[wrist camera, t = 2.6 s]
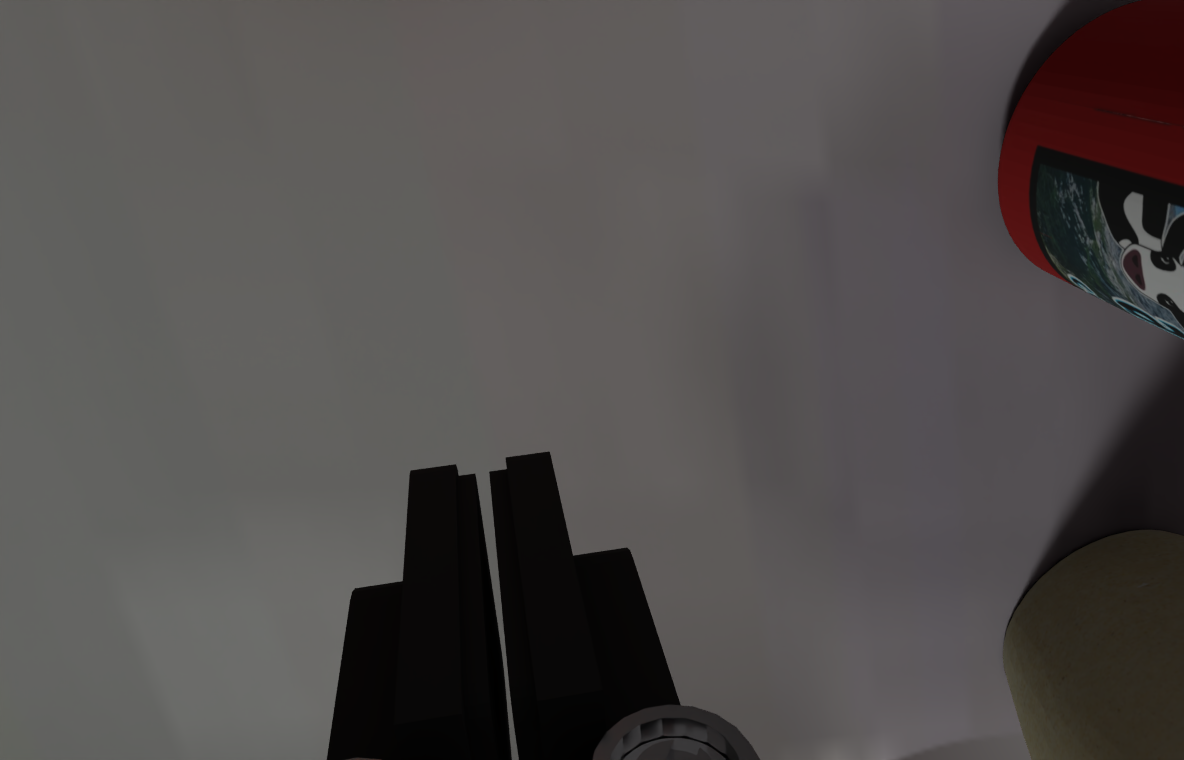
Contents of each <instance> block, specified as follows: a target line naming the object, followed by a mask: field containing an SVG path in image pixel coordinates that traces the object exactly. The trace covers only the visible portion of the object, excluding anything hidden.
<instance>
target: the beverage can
mask: <svg viewBox="0 0 1184 760" xmlns="http://www.w3.org/2000/svg"><path fill="white" fill-rule="evenodd" d="M998 194H999V202H1000V208H1001V212H1002V216H1003V219H1004V222H1005V225H1006V227H1007V230H1008V232H1009V234H1010V236H1011V237H1012V239H1013V241H1014V243H1015V244H1016V245H1017V247H1018V248H1019V249H1020V251H1021V252H1022V253H1023V254H1024V255H1025V256H1026V257H1027V258H1028V259H1029V260H1030V261H1031V262H1032V263H1033V264H1035V265H1036V266H1038V267H1039V268H1041V269H1042V270H1044V271H1046V272H1048V273H1050V274H1052V275H1054V276H1056V277H1058V278H1060V279H1062V280H1064V281H1066V282H1068V283H1070V284H1072V285H1074V286H1076V287H1078V288H1080V289H1082V290H1084V291H1086V292H1088V293H1090V294H1092V295H1094V296H1096V297H1098V298H1100V299H1102V300H1104V301H1106V302H1108V303H1110V304H1112V305H1114V306H1116V307H1118V308H1120V309H1122V310H1124V311H1126V312H1128V313H1130V314H1132V315H1134V316H1136V317H1138V318H1140V319H1142V320H1144V321H1146V322H1148V323H1150V324H1152V325H1154V326H1156V327H1159V328H1161V329H1163V330H1165V331H1167V332H1169V333H1171V334H1173V335H1175V336H1177V337H1179V338H1181V339H1184V0H1141V1H1137V2H1133V3H1130V4H1127V5H1124V6H1121V7H1119V8H1116V9H1114V10H1111V11H1109V12H1107V13H1105V14H1103V15H1101V16H1099V17H1098V18H1096V19H1094V20H1093V21H1091V22H1089V23H1088V24H1086V25H1085V26H1083V27H1082V28H1081V29H1079V30H1078V31H1077V32H1075V33H1074V34H1073V35H1072V36H1070V37H1069V38H1068V39H1067V40H1066V41H1065V42H1064V43H1062V44H1061V45H1060V46H1059V47H1058V48H1057V49H1056V50H1055V51H1054V52H1053V53H1052V55H1051V56H1050V57H1049V58H1048V59H1047V60H1046V61H1045V63H1044V64H1043V65H1042V66H1041V67H1040V69H1039V70H1038V71H1037V73H1036V74H1035V76H1034V77H1033V78H1032V80H1031V81H1030V83H1029V84H1028V86H1027V88H1026V89H1025V91H1024V93H1023V94H1022V96H1021V98H1020V100H1019V102H1018V104H1017V106H1016V108H1015V110H1014V112H1013V115H1012V117H1011V119H1010V122H1009V125H1008V128H1007V131H1006V134H1005V137H1004V141H1003V144H1002V149H1001V154H1000V161H999V169H998Z"/></svg>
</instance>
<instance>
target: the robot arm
mask: <svg viewBox="0 0 1184 760" xmlns="http://www.w3.org/2000/svg"><path fill="white" fill-rule="evenodd" d="M506 465H507V469H505V470H498V471H491V472H489V473H490V484H491V495H492V506H493V517H494V527H495V538H496V549H497V559H498V570H499V581H500V592H501V602H502V613H503V624H504V634H505V645H506V656H507V667H508V677H509V687H510V696H511V705H512V713H513V721H514V728H515V735H516V742H517V749H518V756H519V760H760V758H759V757H758V755H757V753H756V752H755V750H754V748H753V747H752V745H751V744H750V743H749V741H748V740H747V739H746V738H745V737H744V736H743V734H742V733H741V732H740V731H739V730H738V728H737V727H735V726H734V725H732V724H731V723H729V722H728V721H726V720H725V719H723V718H722V717H720V716H719V715H717V714H715V713H712V712H709V711H706V710H703V709H699V708H696V707H693V706H681V705H680V702H679V699H678V696H677V693H676V689H675V686H674V683H673V680H672V677H671V674H670V671H669V668H668V665H667V662H666V659H665V656H664V652H663V649H662V646H661V643H660V640H659V637H658V634H657V631H656V628H655V625H654V622H653V618H652V615H651V612H650V609H649V606H648V603H647V600H646V597H645V594H644V591H643V588H642V585H641V581H640V578H639V575H638V572H637V569H636V566H635V563H634V560H633V557H632V554H631V552H630V550H629V549H628V548H621V549H615V550H608V551H601V552H595V553H588V554H581V555H575V556H573V554H572V549H571V545H570V540H569V536H568V531H567V527H566V522H565V518H564V513H563V509H562V504H561V500H560V495H559V491H558V486H557V482H556V477H555V473H554V468H553V464H552V459H551V455H550V452H543V453H535V454H528V455H521V456H513V457H506ZM327 760H512V757H511V746H510V734H509V723H508V712H507V700H506V689H505V677H504V668H503V659H502V651H501V644H500V637H499V630H498V623H497V617H496V610H495V603H494V596H493V589H492V583H491V576H490V569H489V562H488V555H487V549H486V542H485V535H484V528H483V521H482V515H481V508H480V501H479V494H478V487H477V481H476V475H475V474H469V475H462V476H459V475H458V470H457V466H456V464H455V465H448V466H440V467H433V468H426V469H418V470H411V471H410V478H409V494H408V509H407V525H406V540H405V555H404V571H403V581H401V582H395V583H388V584H381V585H375V586H368V587H361V588H355V589H354V590H353V592H352V595H351V599H350V605H349V612H348V619H347V626H346V632H345V639H344V646H343V653H342V660H341V667H340V673H339V680H338V687H337V694H336V701H335V707H334V714H333V721H332V728H331V735H330V742H329V748H328V755H327Z"/></svg>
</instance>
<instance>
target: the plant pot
mask: <svg viewBox="0 0 1184 760" xmlns="http://www.w3.org/2000/svg"><path fill="white" fill-rule="evenodd" d="M1003 663H1004V669H1005V673H1006V676H1007V680H1008V683H1009V687H1010V690H1011V694H1012V697H1013V701H1014V704H1015V708H1016V711H1017V714H1018V718H1019V721H1020V725H1021V728H1022V732H1023V735H1024V738H1025V741H1026V744H1027V747H1028V750H1029V753H1030V756H1031V759H1032V760H1184V536H1183V535H1179V534H1175V533H1171V532H1166V531H1160V530H1135V531H1128V532H1124V533H1120V534H1115V535H1111V536H1108V537H1106V538H1103V539H1100V540H1098V541H1095V542H1093V543H1090V544H1089V545H1087V546H1085V547H1083V548H1081V549H1079V550H1077V551H1075V552H1073V553H1072V554H1070V555H1069V556H1067V557H1066V558H1064V559H1063V560H1062V561H1060V562H1059V563H1057V564H1056V565H1055V566H1054V567H1053V568H1052V569H1050V570H1049V571H1048V572H1047V573H1046V574H1044V575H1043V576H1042V577H1041V578H1040V579H1039V580H1038V581H1037V582H1036V584H1035V585H1034V586H1033V587H1032V588H1031V589H1030V590H1029V592H1028V593H1027V594H1026V596H1025V597H1024V599H1023V600H1022V602H1021V603H1020V605H1019V606H1018V608H1017V609H1016V611H1015V612H1014V615H1013V617H1012V619H1011V621H1010V623H1009V626H1008V628H1007V631H1006V636H1005V640H1004V647H1003Z"/></svg>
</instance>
